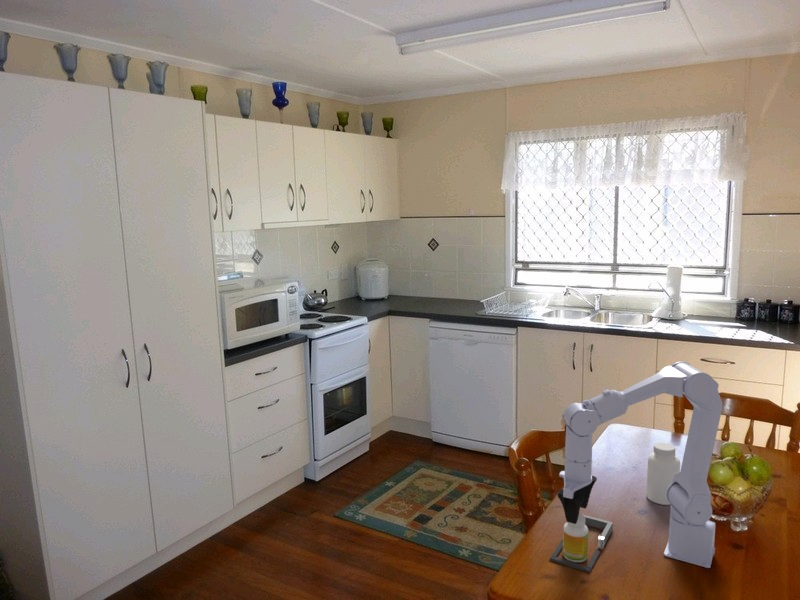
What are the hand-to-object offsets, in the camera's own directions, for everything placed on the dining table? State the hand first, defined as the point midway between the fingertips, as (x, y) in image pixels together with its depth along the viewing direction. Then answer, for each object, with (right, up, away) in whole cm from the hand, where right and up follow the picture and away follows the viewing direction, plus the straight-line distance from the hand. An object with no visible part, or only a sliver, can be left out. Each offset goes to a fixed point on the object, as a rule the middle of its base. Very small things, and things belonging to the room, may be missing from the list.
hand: (576, 514), depth 136 cm
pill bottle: (+31, -5, +27) cm, 41 cm away
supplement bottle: (0, -10, +2) cm, 11 cm away
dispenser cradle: (+6, -8, +11) cm, 15 cm away
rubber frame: (0, -10, +2) cm, 10 cm away
